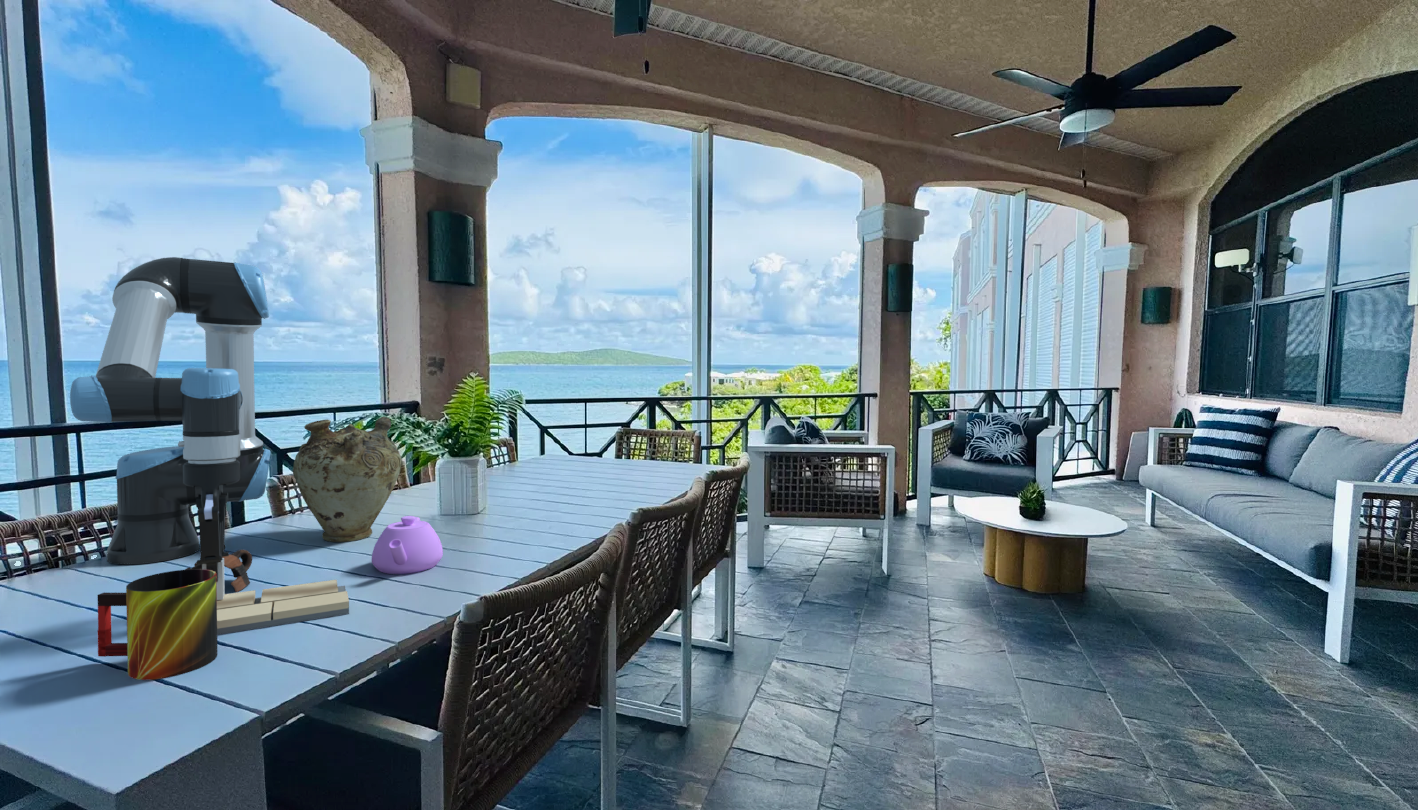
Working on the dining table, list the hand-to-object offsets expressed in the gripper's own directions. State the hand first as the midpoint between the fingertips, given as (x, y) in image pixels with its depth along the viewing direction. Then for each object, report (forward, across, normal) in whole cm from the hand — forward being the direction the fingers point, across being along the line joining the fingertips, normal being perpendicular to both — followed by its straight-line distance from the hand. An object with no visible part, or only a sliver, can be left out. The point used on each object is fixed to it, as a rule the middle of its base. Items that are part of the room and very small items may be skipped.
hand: (213, 598), depth 106 cm
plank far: (+1, +1, +12) cm, 12 cm away
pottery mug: (+3, -15, 0) cm, 15 cm away
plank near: (+1, +1, 0) cm, 2 cm away
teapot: (+3, -12, +31) cm, 34 cm away
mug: (+3, +19, -5) cm, 20 cm away
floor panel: (+3, +4, +6) cm, 8 cm away
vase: (+3, -45, +22) cm, 50 cm away
